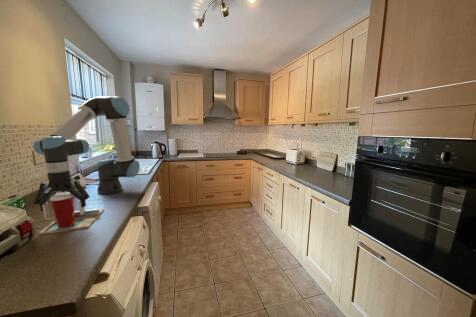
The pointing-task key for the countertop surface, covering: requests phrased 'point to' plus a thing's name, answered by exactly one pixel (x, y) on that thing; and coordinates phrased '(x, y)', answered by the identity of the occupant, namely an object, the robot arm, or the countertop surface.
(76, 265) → the countertop surface
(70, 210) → the coffee cup
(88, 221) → the board
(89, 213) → the rail
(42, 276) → the countertop surface
